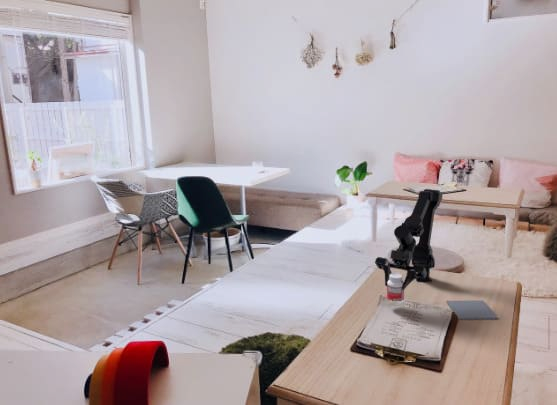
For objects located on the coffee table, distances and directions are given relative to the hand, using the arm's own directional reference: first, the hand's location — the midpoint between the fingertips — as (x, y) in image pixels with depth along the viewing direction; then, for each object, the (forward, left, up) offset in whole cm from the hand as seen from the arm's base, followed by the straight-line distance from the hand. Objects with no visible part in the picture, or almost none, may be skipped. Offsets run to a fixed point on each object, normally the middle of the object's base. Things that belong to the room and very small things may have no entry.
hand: (394, 287), depth 176 cm
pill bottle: (-1, +1, -7) cm, 7 cm away
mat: (+1, +29, -9) cm, 30 cm away
